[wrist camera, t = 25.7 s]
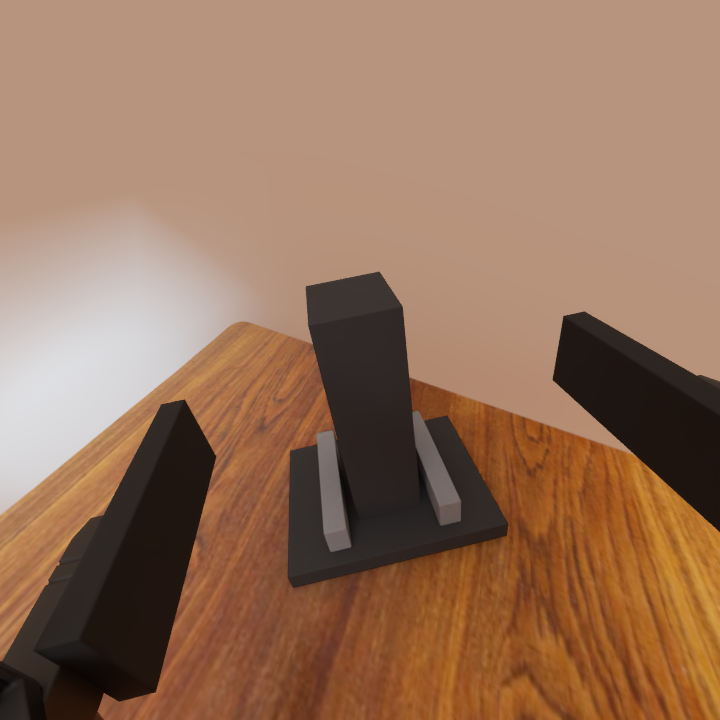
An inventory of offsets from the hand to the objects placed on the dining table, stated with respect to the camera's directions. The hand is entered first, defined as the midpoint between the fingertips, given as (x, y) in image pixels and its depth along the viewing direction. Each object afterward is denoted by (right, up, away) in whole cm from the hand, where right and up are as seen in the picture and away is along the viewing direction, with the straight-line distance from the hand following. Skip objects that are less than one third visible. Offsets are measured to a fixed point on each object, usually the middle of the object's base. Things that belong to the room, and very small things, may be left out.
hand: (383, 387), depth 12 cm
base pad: (+1, -11, +18) cm, 21 cm away
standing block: (+1, -9, +17) cm, 20 cm away
